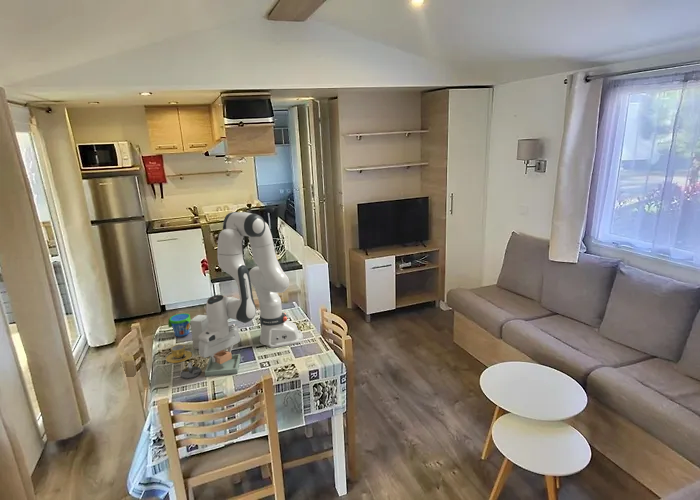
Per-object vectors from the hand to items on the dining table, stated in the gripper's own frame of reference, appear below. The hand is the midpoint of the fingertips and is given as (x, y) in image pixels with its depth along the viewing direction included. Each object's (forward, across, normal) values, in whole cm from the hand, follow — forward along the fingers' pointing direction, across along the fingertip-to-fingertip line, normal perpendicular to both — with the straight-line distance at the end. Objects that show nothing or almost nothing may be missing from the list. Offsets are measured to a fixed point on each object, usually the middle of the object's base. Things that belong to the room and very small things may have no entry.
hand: (221, 358), depth 198 cm
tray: (+5, 0, 0) cm, 5 cm away
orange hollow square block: (+1, 0, 0) cm, 1 cm away
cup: (+5, +6, -26) cm, 28 cm away
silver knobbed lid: (+5, +12, -8) cm, 15 cm away
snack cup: (+5, -9, -48) cm, 49 cm away
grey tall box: (+5, -7, -27) cm, 28 cm away
